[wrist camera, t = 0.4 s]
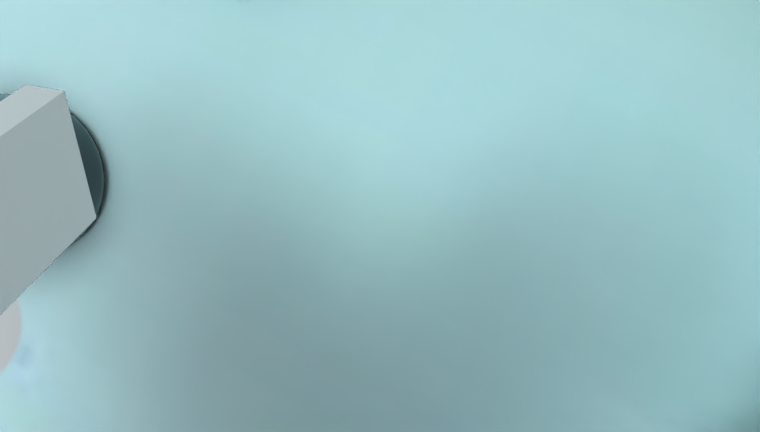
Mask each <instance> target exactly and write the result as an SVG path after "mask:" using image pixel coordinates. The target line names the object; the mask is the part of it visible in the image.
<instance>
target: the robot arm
mask: <svg viewBox="0 0 760 432" xmlns="http://www.w3.org/2000/svg"><path fill="white" fill-rule="evenodd" d="M95 219H96V214H95V210H94V206H93V202H92V198H91V194H90V190H89V186H88V182H87V178H86V174H85V170H84V167H83V163H82V159H81V155H80V151H79V147H78V143H77V139H76V135H75V131H74V127H73V123H72V119H71V115H70V111H69V107H68V103H67V99H66V95H65V91H62V90H55V89H49V88H43V87H36V86H30V85H25V86H23V87H22V88H20V89H18V90H17V91H15V92H14V93H12V94H11V95H9V96H8V97H6V98H5V99H3V100H2V101H0V315H1V314H2V313H3V312H4V311H5V310H6V309H7V308H8V307H9V306H10V305H11V304H12V303H13V302H14V301H15V300H16V299H17V298H18V297H19V296H20V295H21V294H22V293H23V292H24V291H25V290H26V289H27V288H28V287H29V286H30V285H31V284H32V283H33V282H34V281H35V280H36V279H37V278H38V277H39V276H40V275H41V274H42V273H43V272H44V271H45V270H46V269H47V268H48V267H49V266H50V265H51V264H52V263H53V262H54V261H55V260H56V259H57V257H58V256H59V255H60V254H61V253H62V252H63V251H64V250H65V249H66V248H67V247H68V246H69V245H70V244H71V243H72V242H73V241H74V240H75V239H76V238H77V237H78V236H79V235H80V234H81V233H82V232H83V231H84V230H85V229H86V228H87V227H88V226H89V225H90V224H91V223H92V222H93V221H94V220H95Z"/></svg>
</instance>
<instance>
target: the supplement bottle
mask: <svg viewBox="0 0 760 432" xmlns="http://www.w3.org/2000/svg"><path fill="white" fill-rule="evenodd" d="M9 95H11V94H0V101H2V100H3V99H5V98H6V97H8V96H9ZM70 115H71V119H72V123H73V127H74V131H75V135H76V139H77V143H78V147H79V151H80V155H81V159H82V163H83V167H84V170H85V174H86V178H87V182H88V186H89V190H90V194H91V198H92V202H93V206H94V210H95V214H96V215H97V213H98V210H99V208H100V205H101V201H102V197H103V191H104V173H103V166H102V161H101V157H100V154H99V151H98V149H97V147H96V144H95V142H94V141H93V139H92V137H91V135H90V134H89V132H88V131H87V130H86V128H85V127H84V126H83V125H82V124H81V123H80V121H79V120H78V119H77V118H75V117H74V116H73V115H72V114H71V113H70ZM91 224H92V223H91ZM91 224H90V225H91ZM90 225H89V226H90ZM89 226H88V227H87V228H86V229H85V230H84V231H83V232H82V233H81V234H80V235H79V236H78V237H77V238H76V239H75V240H74V241H73V242H75V241H76V240H77V239H78V238H79V237H81V235H82V234H83V233H84V232H85V231H86V230H87V229H88V228H89ZM73 242H72V243H73Z"/></svg>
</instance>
